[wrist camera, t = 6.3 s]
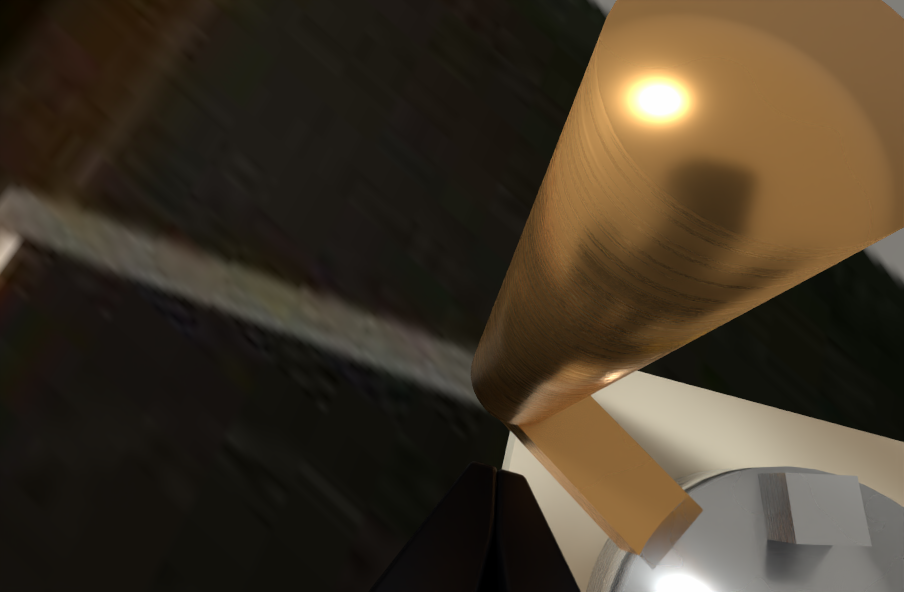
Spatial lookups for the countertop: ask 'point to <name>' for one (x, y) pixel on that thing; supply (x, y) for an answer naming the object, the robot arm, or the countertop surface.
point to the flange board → (705, 450)
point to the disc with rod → (701, 275)
